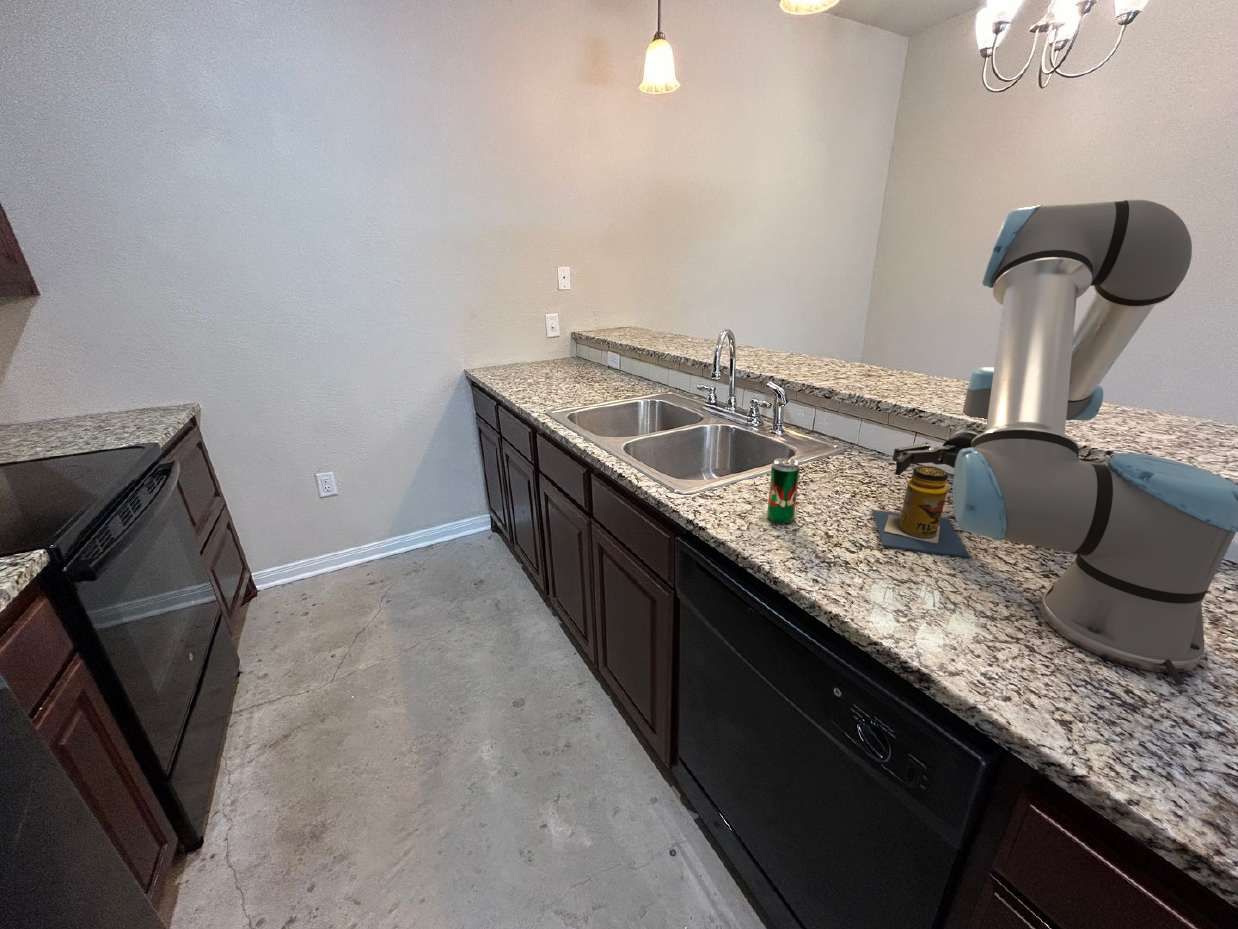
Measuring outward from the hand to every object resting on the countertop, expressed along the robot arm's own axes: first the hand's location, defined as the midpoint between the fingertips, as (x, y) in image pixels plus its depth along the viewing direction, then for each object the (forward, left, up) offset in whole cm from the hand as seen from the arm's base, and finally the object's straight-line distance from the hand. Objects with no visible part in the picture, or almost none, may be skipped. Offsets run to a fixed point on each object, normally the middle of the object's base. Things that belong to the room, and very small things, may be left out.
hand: (937, 477), depth 92 cm
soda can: (-7, +27, -9) cm, 29 cm away
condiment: (-6, +4, -9) cm, 11 cm away
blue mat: (-6, +3, -9) cm, 11 cm away
